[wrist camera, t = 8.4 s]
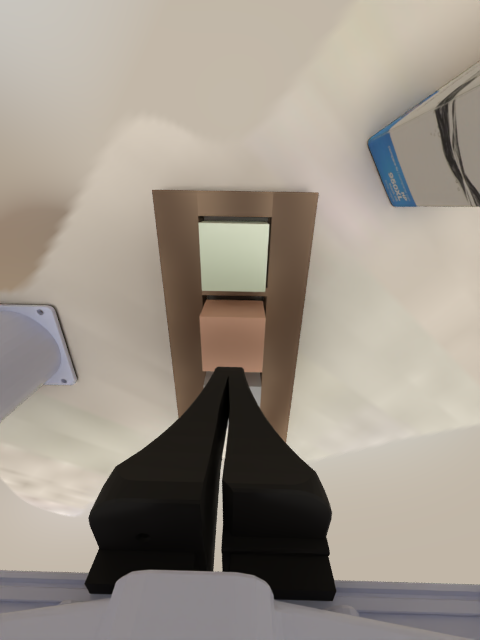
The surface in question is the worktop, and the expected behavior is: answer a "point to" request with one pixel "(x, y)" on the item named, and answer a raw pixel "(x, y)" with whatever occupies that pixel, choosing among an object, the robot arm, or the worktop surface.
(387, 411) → the worktop surface
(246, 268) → the pale green block
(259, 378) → the grey key
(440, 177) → the ink box
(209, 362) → the terracotta key
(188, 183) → the worktop surface
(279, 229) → the brown wooden long tray
